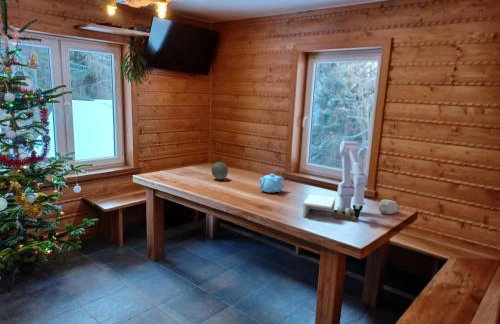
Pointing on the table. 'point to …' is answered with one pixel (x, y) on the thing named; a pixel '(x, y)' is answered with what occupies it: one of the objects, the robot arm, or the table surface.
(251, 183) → the table surface
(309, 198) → the white shelf
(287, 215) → the table surface
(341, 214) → the walnut tray
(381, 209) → the grey rounded lump
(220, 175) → the cantaloupe
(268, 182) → the decorative pot
